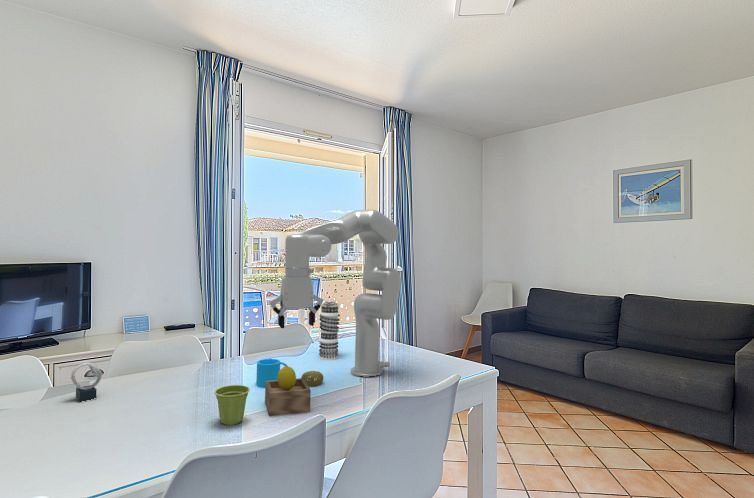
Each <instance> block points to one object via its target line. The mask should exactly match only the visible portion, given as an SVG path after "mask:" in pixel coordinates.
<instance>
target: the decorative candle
mask: <svg viewBox="0 0 754 498" xmlns="http://www.w3.org/2000/svg"><path fill="white" fill-rule="evenodd" d="M339 306H340V305H338V303H337V302H336V301H323V302H322V304H321V306H320V307H321V311H320V314H319V319H318V320H319V321H320V322H319V329H320V330H319V332H320V340H319V344H320V345H319V349H318V351H319V353H318V355H319V356H318V357H319V359H320V360H324V361H326V360H327V361H333V360H337V359H338V358H339V356H338V355H339V353H338V352H339V349H338V348H339V341H338V340H339V338H338V333H339V332H340V331H339V328H340V327H339V326H338V325H340V322H339V321H340V318H339V317H341V314H339Z"/></svg>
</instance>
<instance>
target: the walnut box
mask: <svg viewBox="0 0 754 498" xmlns="http://www.w3.org/2000/svg"><path fill="white" fill-rule="evenodd" d="M264 389H265V390H264V403H265V407H266V411H267V414H268V417H275V416H284V415H293V414H304V413H310V412H311V391H312V390H311V388H310V386H308V385H307V383H306V382H305V380H304V378H296V382H295V385H294V387H293V388H291V389H290V390H289V391H285V390H283V389H281V388H280V386H279V384H278V380H273V381H265V388H264Z"/></svg>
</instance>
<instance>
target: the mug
mask: <svg viewBox="0 0 754 498" xmlns="http://www.w3.org/2000/svg"><path fill="white" fill-rule="evenodd" d="M281 365H283V367H285V366H288V364H286V362H282V361H281V360H280V359H277V358H264V359H259V360H258V361H256V381H255V382H256V383H255V384H256V385H255V386H257V387H258V388H260V389H265V381H273V380H278V373H279V371H280V370H281Z"/></svg>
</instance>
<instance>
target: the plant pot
mask: <svg viewBox="0 0 754 498" xmlns="http://www.w3.org/2000/svg"><path fill="white" fill-rule="evenodd" d="M250 390H251V389H250V387H249V386H246V385H244V384H231V385H225V386H221V387H218V388H216V389H215V390H214V392H213V393H214V395H215V397H216V399H217V406H218V415H219V422H220V424H222V425H223V424H224V425H225V426H232V425H236V424H239V423H240V422H243V421H244V416H245V415H244V414H245V409H246V402H247V397H248V395H249V392H250Z"/></svg>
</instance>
